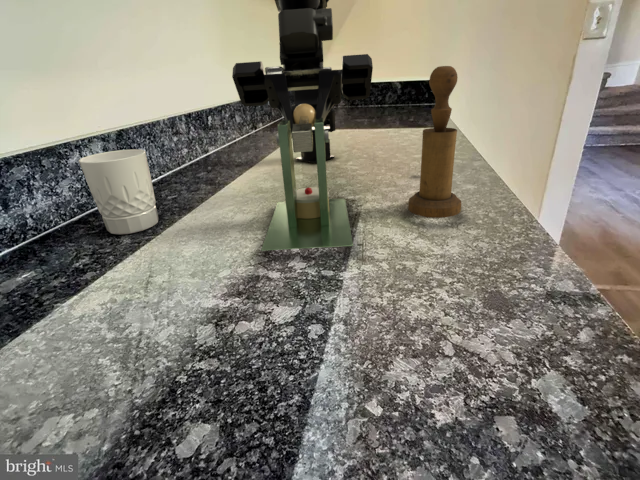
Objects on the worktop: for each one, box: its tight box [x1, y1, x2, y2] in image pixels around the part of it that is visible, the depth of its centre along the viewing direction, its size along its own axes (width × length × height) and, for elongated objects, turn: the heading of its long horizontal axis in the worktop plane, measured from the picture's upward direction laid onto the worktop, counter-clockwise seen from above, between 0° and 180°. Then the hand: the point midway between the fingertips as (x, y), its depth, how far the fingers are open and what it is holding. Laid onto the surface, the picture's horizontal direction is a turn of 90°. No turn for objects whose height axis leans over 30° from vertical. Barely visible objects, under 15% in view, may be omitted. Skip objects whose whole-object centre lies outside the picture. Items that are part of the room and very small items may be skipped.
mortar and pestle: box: [407, 65, 462, 219], centre depth 44 cm, size 7×6×18 cm
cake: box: [296, 187, 330, 219], centre depth 48 cm, size 5×5×3 cm
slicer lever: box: [291, 104, 316, 153], centre depth 45 cm, size 11×3×3 cm, turn 0°
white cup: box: [78, 148, 160, 235], centre depth 50 cm, size 8×8×10 cm
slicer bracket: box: [260, 118, 354, 252], centre depth 44 cm, size 16×10×13 cm, turn 0°
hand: (305, 130), depth 48 cm, fingers closed on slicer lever, 3 cm apart
